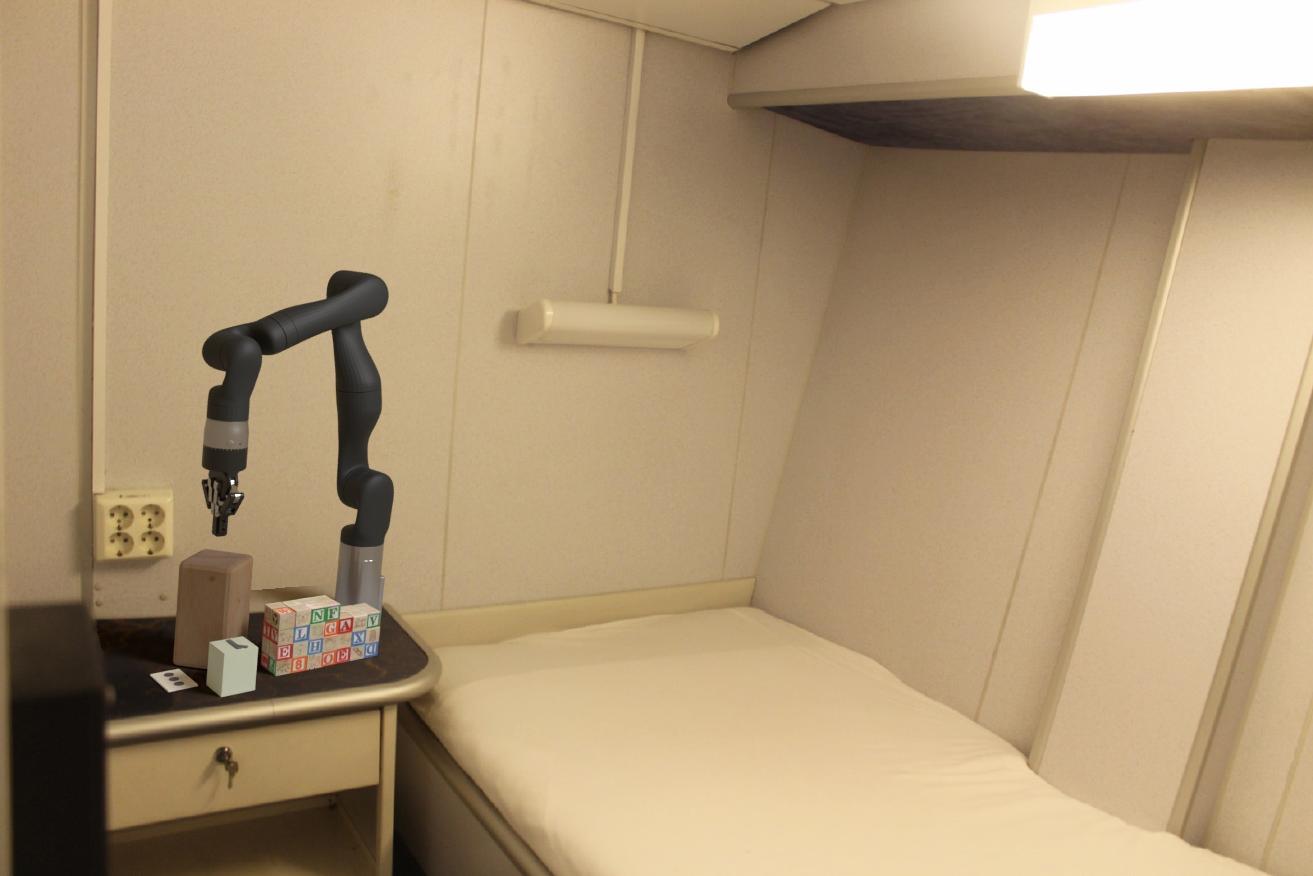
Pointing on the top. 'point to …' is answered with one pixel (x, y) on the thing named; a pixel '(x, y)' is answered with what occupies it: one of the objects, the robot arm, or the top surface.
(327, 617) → the stack of blocks
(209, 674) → the digit block
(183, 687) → the count card
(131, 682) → the top surface
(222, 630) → the wooden block
